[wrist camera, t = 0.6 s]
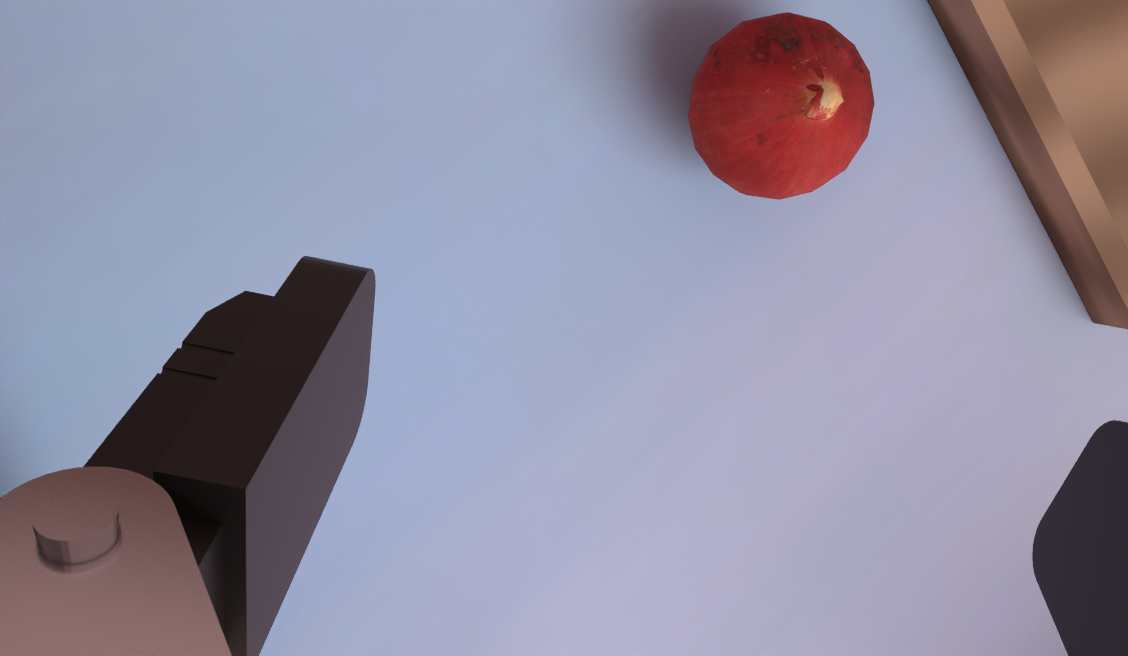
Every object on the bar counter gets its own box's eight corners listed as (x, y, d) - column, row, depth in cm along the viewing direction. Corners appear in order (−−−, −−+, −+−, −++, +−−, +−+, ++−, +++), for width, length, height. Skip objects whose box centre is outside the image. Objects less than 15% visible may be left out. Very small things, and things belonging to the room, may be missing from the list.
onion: (650, 54, 34) (710, 10, 27) (803, 19, 35) (907, -36, 27) (685, 214, 35) (753, 217, 27) (834, 178, 36) (943, 170, 28)
